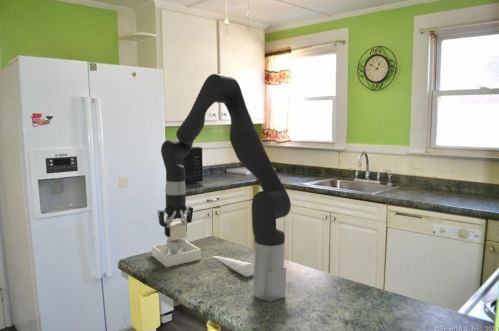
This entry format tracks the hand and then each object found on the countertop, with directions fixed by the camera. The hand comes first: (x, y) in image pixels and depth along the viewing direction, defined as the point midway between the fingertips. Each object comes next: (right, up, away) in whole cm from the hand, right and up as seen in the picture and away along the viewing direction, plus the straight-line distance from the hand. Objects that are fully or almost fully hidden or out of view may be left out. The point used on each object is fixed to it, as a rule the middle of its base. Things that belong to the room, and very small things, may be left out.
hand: (176, 235), depth 150 cm
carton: (0, -1, 0) cm, 1 cm away
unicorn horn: (+21, -11, -6) cm, 25 cm away
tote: (0, -9, +1) cm, 10 cm away
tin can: (0, -9, +1) cm, 9 cm away
